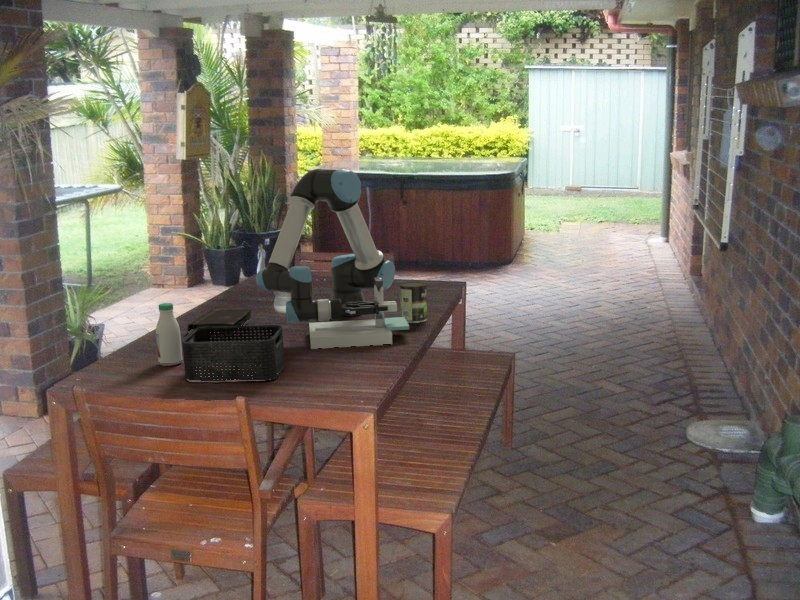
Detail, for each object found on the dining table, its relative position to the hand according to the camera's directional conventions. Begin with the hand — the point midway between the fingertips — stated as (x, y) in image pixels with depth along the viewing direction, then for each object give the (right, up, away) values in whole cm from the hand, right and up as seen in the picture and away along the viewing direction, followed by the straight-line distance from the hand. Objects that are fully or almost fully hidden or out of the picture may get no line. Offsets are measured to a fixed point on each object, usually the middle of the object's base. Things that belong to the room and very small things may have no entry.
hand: (396, 306), depth 324 cm
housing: (-16, -12, +1) cm, 20 cm away
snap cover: (0, -7, +1) cm, 7 cm away
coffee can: (+7, -6, +26) cm, 27 cm away
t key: (-6, -10, +1) cm, 11 cm away
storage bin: (-50, -21, -38) cm, 66 cm away
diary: (-66, -9, +25) cm, 71 cm away
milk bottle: (-74, -19, -24) cm, 80 cm away
